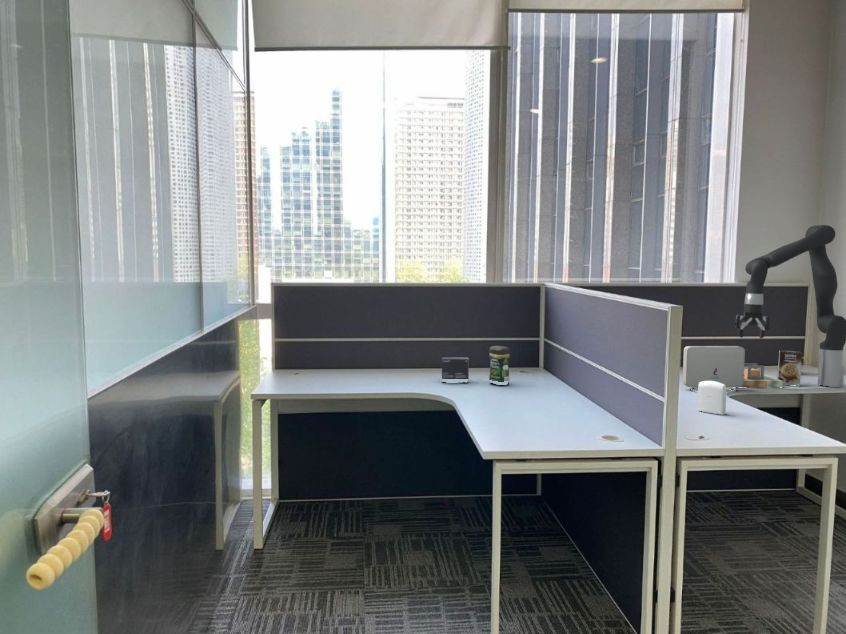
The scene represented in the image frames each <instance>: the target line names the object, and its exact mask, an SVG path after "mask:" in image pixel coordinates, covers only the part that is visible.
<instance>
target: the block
mask: <svg viewBox="0 0 846 634" xmlns="http://www.w3.org/2000/svg"><path fill="white" fill-rule="evenodd" d="M760 375H761V369H758V368H757V369H754V368H751V377H760ZM747 376H748V368H744V377H745V378H747Z"/></svg>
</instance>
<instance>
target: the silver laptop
mask: <svg viewBox="0 0 846 634" xmlns="http://www.w3.org/2000/svg"><path fill="white" fill-rule="evenodd" d="M745 354H746V349H745V348H744V347H742V346H739V345H702V346H701V345H687V346H685V347H684V348H683V358H682V359H683V361H682V363H683V364H682V365H683V366H682V384H683V386H686V387H688V388H690V389H692V390H694V391H698V389H693V388H698V385H699V383H700V382H702V381H716V382H719V383H722V384H724V385H726V388H728V389H727V390H726V393H736V391H737V390H736V388H732V387H742V386H743V381H744V370H745V365H744V363H745ZM690 389H689V390H690ZM729 389H731V390H732V391H731V390H729ZM692 390H691V391H692ZM694 391H693V392H694Z"/></svg>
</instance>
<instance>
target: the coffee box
mask: <svg viewBox="0 0 846 634" xmlns="http://www.w3.org/2000/svg"><path fill="white" fill-rule="evenodd" d="M802 357H803V352H802V351H797V350H784V349H783V350H781V349H779V351H778V365H777V366H778V367H777V379H779V380H781V381H783V385H796V386H800V387H801V377H802V376H801V374H802V365H801V364H802V360H803V359H802Z"/></svg>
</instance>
